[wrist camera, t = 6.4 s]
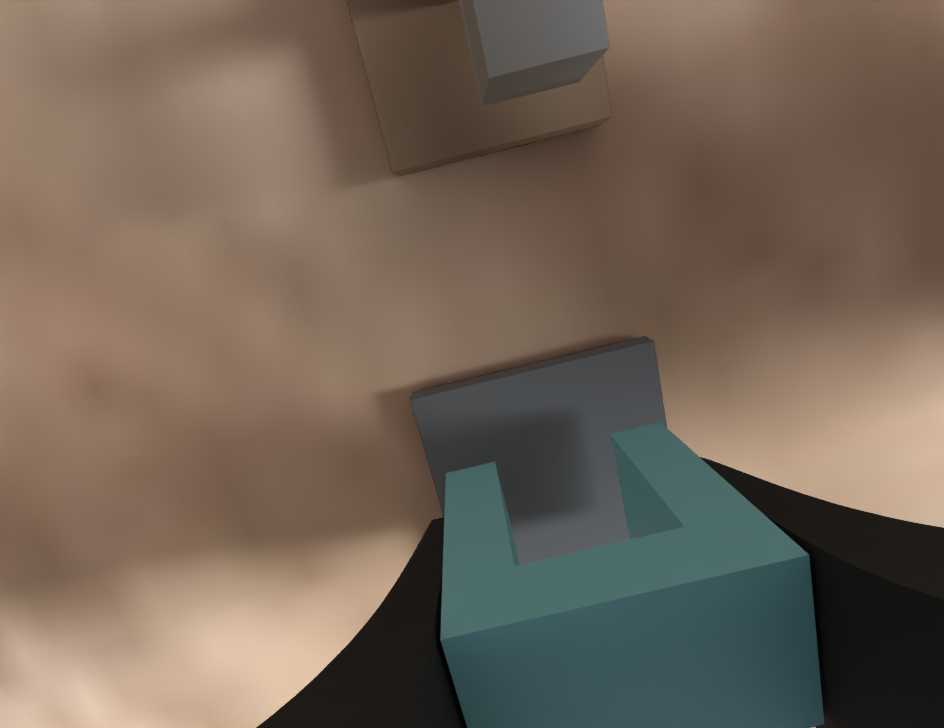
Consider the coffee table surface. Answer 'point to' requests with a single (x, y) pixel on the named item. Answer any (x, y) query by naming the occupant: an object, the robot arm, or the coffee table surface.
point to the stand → (480, 74)
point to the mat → (547, 440)
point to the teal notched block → (631, 608)
